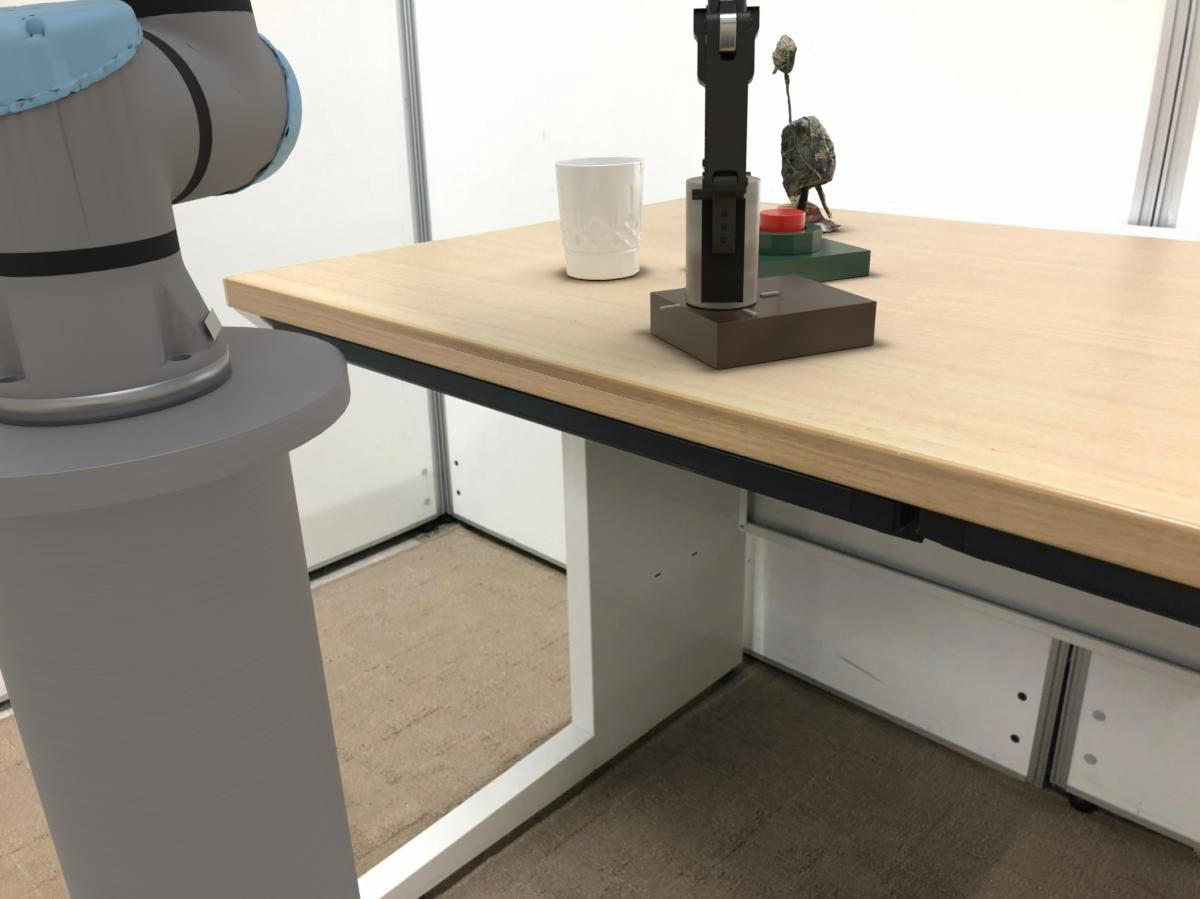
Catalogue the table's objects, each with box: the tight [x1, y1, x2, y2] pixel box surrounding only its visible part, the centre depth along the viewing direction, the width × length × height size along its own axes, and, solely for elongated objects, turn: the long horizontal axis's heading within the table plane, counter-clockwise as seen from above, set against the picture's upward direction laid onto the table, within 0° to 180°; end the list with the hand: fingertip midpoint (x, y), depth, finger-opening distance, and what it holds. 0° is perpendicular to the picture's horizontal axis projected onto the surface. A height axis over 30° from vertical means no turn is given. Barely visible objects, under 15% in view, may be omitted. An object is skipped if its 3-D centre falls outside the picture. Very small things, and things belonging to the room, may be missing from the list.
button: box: [759, 208, 805, 232], centre depth 87 cm, size 4×4×2 cm
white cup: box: [554, 155, 645, 281], centre depth 89 cm, size 8×8×10 cm
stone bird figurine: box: [771, 34, 842, 234], centre depth 105 cm, size 8×11×20 cm
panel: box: [649, 274, 878, 370], centre depth 68 cm, size 14×10×3 cm
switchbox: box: [758, 222, 872, 283], centre depth 88 cm, size 12×10×4 cm
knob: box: [685, 175, 762, 309], centre depth 65 cm, size 5×5×8 cm
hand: (721, 290), depth 66 cm, fingers closed on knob, 5 cm apart
